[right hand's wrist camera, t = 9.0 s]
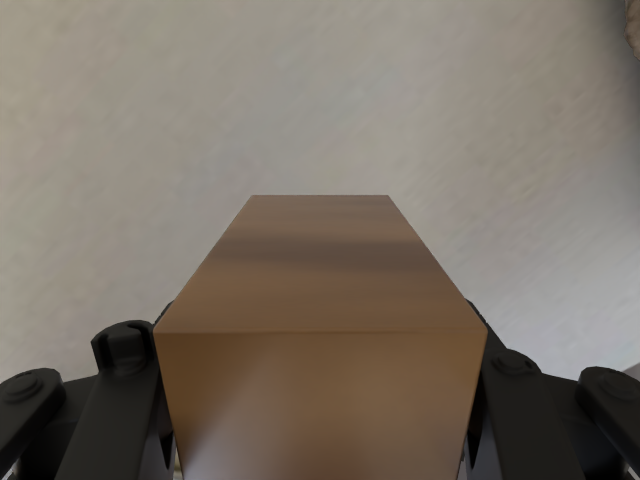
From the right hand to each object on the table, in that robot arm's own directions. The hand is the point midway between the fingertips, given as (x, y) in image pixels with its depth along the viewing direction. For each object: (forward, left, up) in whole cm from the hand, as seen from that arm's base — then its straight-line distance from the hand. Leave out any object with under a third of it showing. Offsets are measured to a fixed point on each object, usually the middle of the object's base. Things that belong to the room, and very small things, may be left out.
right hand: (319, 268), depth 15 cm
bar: (+5, +9, -1) cm, 11 cm away
